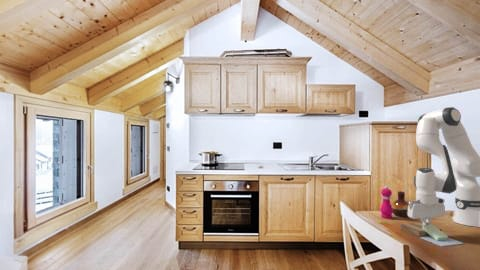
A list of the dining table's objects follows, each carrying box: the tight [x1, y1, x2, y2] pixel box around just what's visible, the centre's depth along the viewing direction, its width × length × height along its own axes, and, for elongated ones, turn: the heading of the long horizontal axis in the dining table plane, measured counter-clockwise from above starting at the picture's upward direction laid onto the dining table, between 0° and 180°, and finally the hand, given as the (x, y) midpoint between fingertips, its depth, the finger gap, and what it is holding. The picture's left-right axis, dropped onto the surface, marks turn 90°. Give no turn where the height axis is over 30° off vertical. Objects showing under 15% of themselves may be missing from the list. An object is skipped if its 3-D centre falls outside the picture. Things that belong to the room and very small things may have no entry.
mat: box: [419, 236, 465, 247], centre depth 134 cm, size 13×12×1 cm
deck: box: [400, 221, 443, 238], centre depth 146 cm, size 14×12×3 cm
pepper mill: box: [379, 185, 393, 220], centre depth 173 cm, size 7×7×20 cm
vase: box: [391, 190, 410, 218], centre depth 176 cm, size 11×11×15 cm
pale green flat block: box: [422, 223, 449, 241], centre depth 137 cm, size 6×9×2 cm, turn 12°
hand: (426, 225), depth 142 cm, fingers closed
